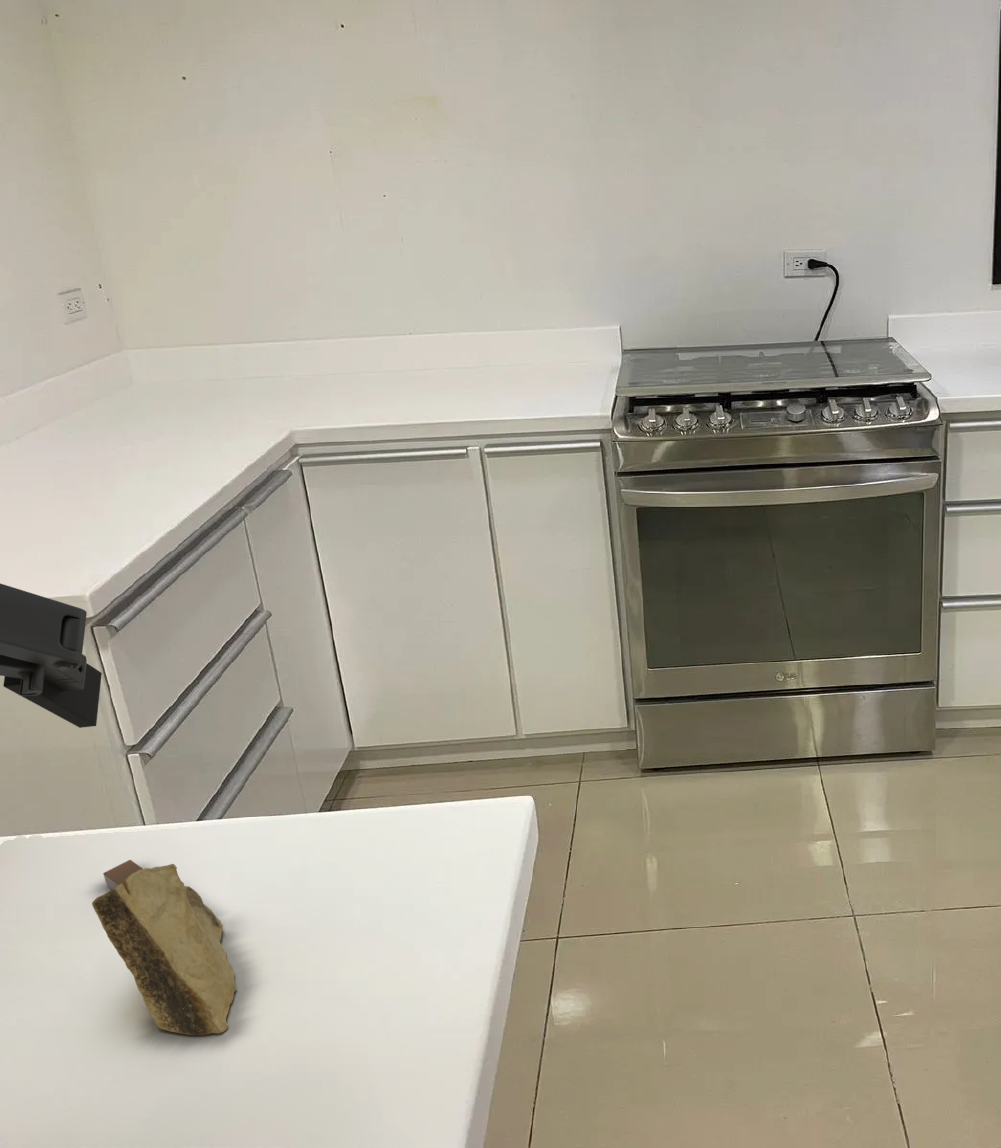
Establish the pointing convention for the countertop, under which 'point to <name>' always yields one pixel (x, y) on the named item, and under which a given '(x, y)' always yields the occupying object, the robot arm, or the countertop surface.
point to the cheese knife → (120, 873)
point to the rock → (170, 950)
